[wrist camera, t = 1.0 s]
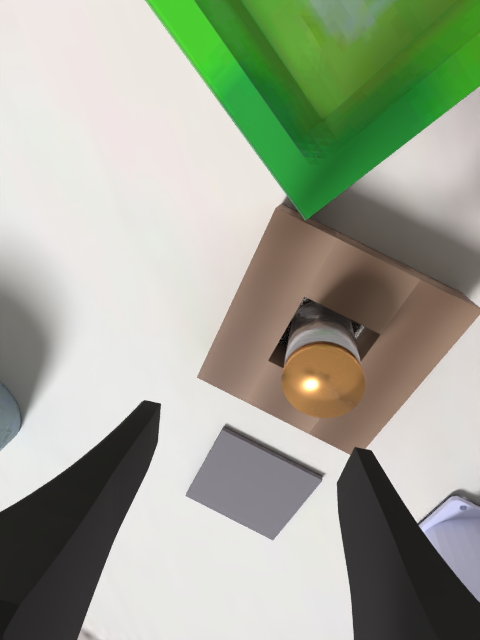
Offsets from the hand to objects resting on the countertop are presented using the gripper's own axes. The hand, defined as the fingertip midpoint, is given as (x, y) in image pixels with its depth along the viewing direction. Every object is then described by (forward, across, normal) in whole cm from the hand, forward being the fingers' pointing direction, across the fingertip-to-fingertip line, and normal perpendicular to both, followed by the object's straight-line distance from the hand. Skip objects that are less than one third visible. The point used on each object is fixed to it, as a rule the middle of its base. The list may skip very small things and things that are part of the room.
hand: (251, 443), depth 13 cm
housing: (+12, -4, +1) cm, 12 cm away
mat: (+11, -2, +17) cm, 20 cm away
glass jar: (+12, -4, +1) cm, 12 cm away
